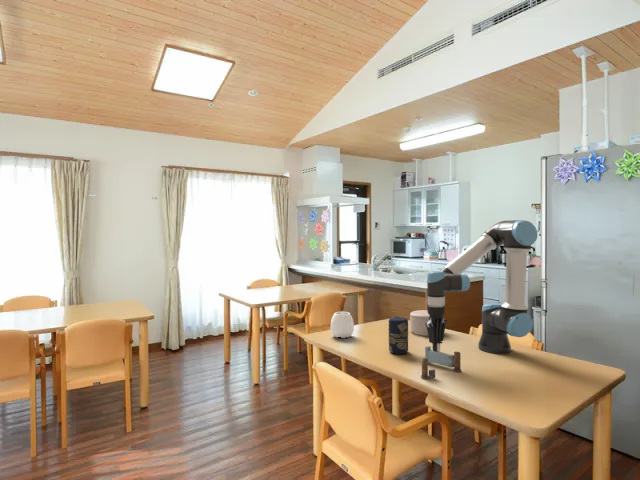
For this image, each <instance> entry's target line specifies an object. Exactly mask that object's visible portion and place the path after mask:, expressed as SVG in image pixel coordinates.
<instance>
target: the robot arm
mask: <svg viewBox="0 0 640 480" xmlns="http://www.w3.org/2000/svg"><path fill="white" fill-rule="evenodd" d="M479 237H480V238H478V239H477V240H476V241H475V242H474V243H473V244H471V245H470V246H468V247H467V248H466V249H465V250H464V251H463V252H461V253H460V254H459V255H457V256H456V257H455V258H454V259H453V260H451V261H450V262H448V264H446V266H444V267H443V268H442V269H440V270H430V271H428V272H427V278H426V283H427V284H426V286H427V287H426V288H427V292H426V293H427V310H428V314H429V315H430V316H429V322H428V323H425V325H426V327H427V332H428V336H427V337H428V342H429V343H431V344H432V350H433V351H438V352H441V344H443V341H444V338H445V332H446V331H445V330H446V324H447V322H448V320H447V319H446V318H444V315H446V307H445V305H446V293H448V292H466V291H468V290H470V288H471V279H470V277H469V276H468V275H467V274H464V272H465V271H466V270H468V269H469V268H470V267H471V266H473V265H474V264H475V263H476V262H478V261H479V260H480V259H481V258H482V257H484V256H485V255H486V254H487V253H488V252H490V251H491V250H493V251H494V250H496V249H497V248H499V247H500V246H503V249H504V251H506V261H505V262H506V265H505V266H506V267H505V281H504V282H505V284H504V287H505V288H504V302H503V303H485V304H483V305H482V307H481V335H480V338H479V341H478V346H477V347H478V349H479V350H480V351H483V352H486V353H491V354H508V353H510V352H512V346H511V342H510V339H509V337H508V335H509V336H511V337H515V338H524V337H526V336H528V334H530V332H531V331H532V329H533V327H534V320H533V318H532V317H531V315H530V314H529V307H527V305H526V303H525V302H526V301H525V300H526V281H527V265H528V263H527V261H528V253H529V252H530V251H531V250H532V245H533V244H535V242H536V241H537V240H538V229H537V228H536V226H535V225H534V224H533V223H532V222H531V221H529V220H523V219H516V220H502V221H499V222H497V223H495V224H493V225H492V226H490V227H489V228H488V229H486V230H485V231H483V233H481V234H480V236H479Z"/></svg>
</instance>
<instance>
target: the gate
mask: <svg viewBox="0 0 640 480" xmlns="http://www.w3.org/2000/svg"><path fill="white" fill-rule="evenodd" d="M431 347H432V346H431V345H426V346H425V347H424V353H425V355H424V357H425V358H428V365H429V364H431V363H433V364H437V365H439V366H445V367H447V368H452V369H453V368H454V354H450V353H447V352H442V351H440V352H438V351H433V349H431Z"/></svg>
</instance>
